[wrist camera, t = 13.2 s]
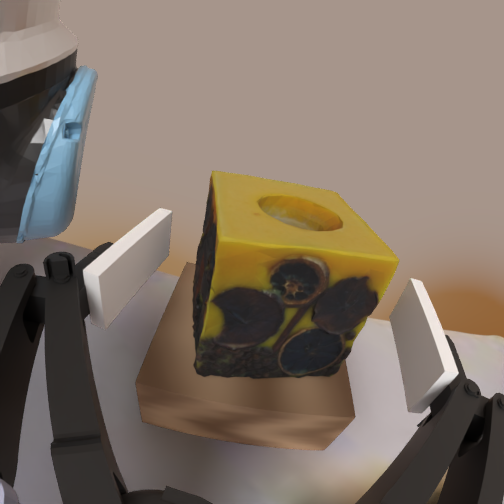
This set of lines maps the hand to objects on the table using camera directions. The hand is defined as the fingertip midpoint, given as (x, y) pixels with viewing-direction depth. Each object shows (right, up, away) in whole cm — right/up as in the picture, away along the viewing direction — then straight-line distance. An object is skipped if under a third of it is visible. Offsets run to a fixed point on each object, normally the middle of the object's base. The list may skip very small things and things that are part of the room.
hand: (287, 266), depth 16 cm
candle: (-1, -5, +7) cm, 9 cm away
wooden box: (-3, -10, +10) cm, 14 cm away
